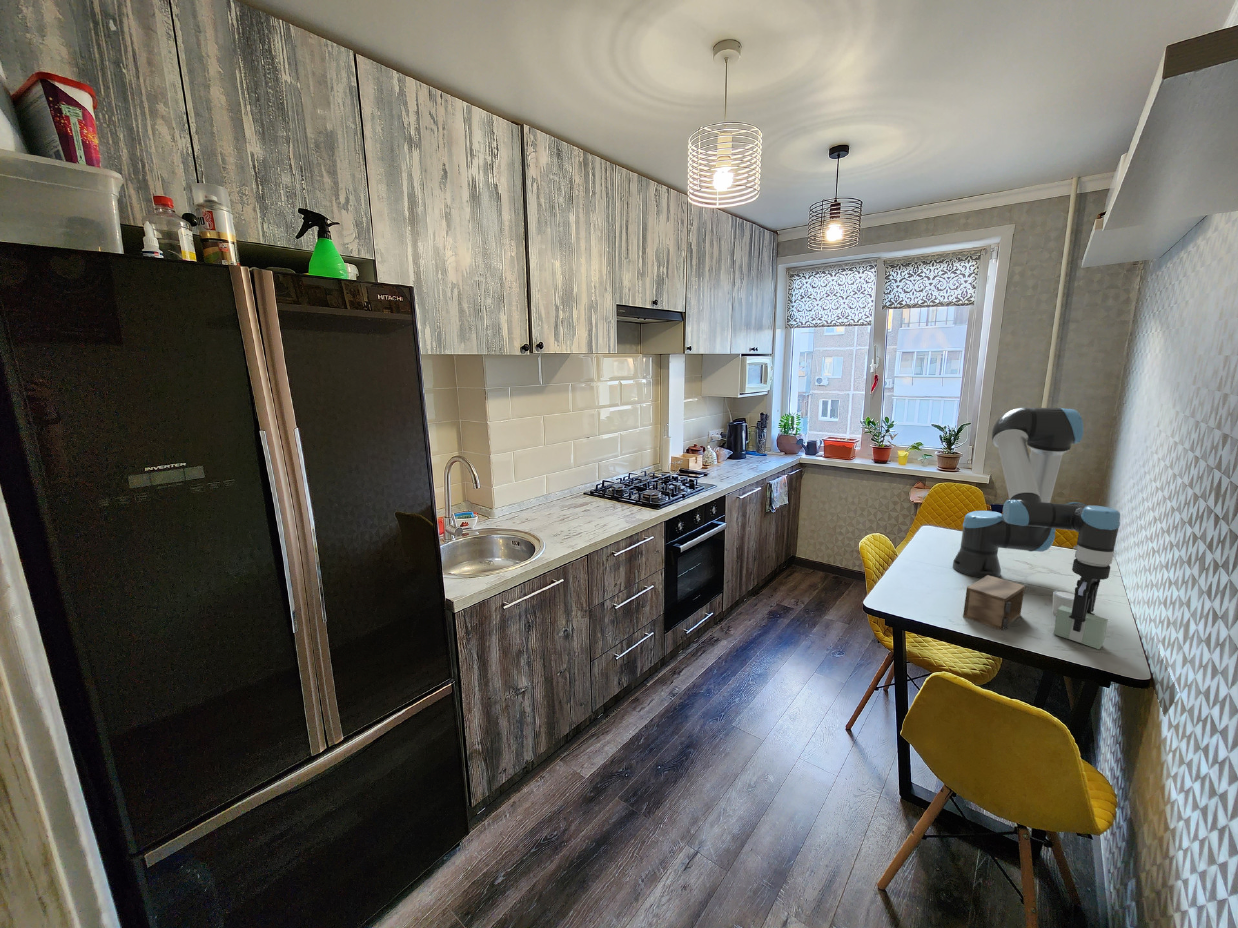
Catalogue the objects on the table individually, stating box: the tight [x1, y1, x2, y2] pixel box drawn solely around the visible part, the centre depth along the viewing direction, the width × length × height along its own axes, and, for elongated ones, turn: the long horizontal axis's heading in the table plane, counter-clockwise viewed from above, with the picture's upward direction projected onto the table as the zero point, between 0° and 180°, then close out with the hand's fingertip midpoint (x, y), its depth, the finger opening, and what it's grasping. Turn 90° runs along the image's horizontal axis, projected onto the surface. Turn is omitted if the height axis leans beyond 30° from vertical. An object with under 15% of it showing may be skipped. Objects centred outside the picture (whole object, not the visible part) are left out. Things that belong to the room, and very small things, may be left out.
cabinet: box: [962, 575, 1026, 631], centre depth 156 cm, size 11×16×10 cm
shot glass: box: [1052, 590, 1075, 617], centre depth 157 cm, size 7×7×7 cm
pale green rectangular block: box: [1052, 606, 1109, 650], centre depth 142 cm, size 4×10×8 cm, turn 35°
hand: (1077, 637), depth 143 cm, fingers closed on pale green rectangular block, 3 cm apart
